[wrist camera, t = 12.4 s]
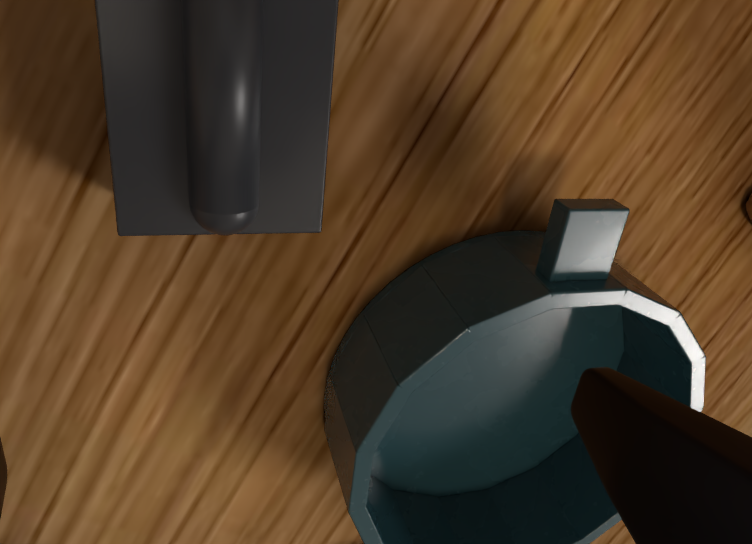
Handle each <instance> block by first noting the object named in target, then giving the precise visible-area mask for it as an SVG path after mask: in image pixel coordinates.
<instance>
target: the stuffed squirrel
mask: <svg viewBox="0 0 752 544" xmlns="http://www.w3.org/2000/svg"><path fill="white" fill-rule="evenodd" d="M746 210H747V213H748V215H749V217H750V220H751V221H752V193H751V195H750V197H749V200H748V202H747V203H746Z"/></svg>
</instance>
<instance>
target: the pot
mask: <svg viewBox="0 0 752 544" xmlns="http://www.w3.org/2000/svg"><path fill="white" fill-rule="evenodd" d="M628 214H629V209H628V208H627V207H625V206H623V205H622V204H620V203H618V202H617V201H615V200H614V199H555V200H554V203H553V207H552V211H551V214H550V218H549V222H548V226H547V230H546V232H543V231H525V230H518V231H507V232H497V233H492V234H488V235H483V236H478V237H474V238H471V239H468V240H466V241H463V242H460V243H457V244H454V245H451V246H449V247H447V248H445V249H443V250H441V251H438V252H436V253H434V254H432V255H430V256H428V257H427V258H425V259H423V260H422V261H420V262H418V263H417V264H415V265H413V266H412V267H410V268H409V269H407V270H406V271H405V272H403V273H402V274H401V275H399V276H398V277H397V278H396V279H394V280H393V281H392V282H390V283H389V284H388V285H387V286H386V287H385V288H384V289H383V290H382V291H381V292H380V293H378V294H377V295H376V296H375V297H374V298H373V299H372V300H371V301H370V302H369V304H368V305H367V306H366V307H365V308H364V310H363V311H362V312H361V313H360V314H359V316H358V317H357V318H356V319H355V321H354V322H353V324H352V325H351V327H350V329H349V330H348V332H347V333H346V335H345V336H344V338H343V340H342V342H341V344H340V346H339V348H338V350H337V352H336V354H335V356H334V359H333V362H332V365H331V368H330V371H329V374H328V378H327V384H326V389H325V395H324V414H325V434H326V437H327V441H328V444H329V447H330V451H331V454H332V458H333V461H334V465H335V468H336V471H337V475H338V478H339V482H340V485H341V488H342V492H343V495H344V499H345V502H346V505H347V509H348V512H349V514H350V516H351V518H352V520H353V522H354V524H355V526H356V528H357V530H358V532H359V534H360V536H361V539H362V541H363V543H364V544H590V543H591V542H592V541H594V540H595V539H596V538H598V537H599V536H600V535H602V534H603V533H604V532H606V531H607V530H608V529H610V528H611V527H612V526H614V525H615V524H616V523H618V522H619V521H620V520H622V519H621V517H620V515H619V514H618V512H617V510H616V508H615V507H614V505H613V503H612V501H611V499H610V498H609V496H608V494H607V492H606V490H605V488H604V486H603V484H602V481H601V479H600V477H599V475H598V473H597V471H596V468H595V466H594V464H593V462H592V460H591V458H590V456H589V453H588V451H587V449H586V447H585V445H584V443H583V440H582V438H581V436H580V434H579V432H578V430H577V427H576V425H575V423H574V421H573V418H572V415H571V403H572V400H573V397H574V395H575V392H576V389H577V386H578V383H579V380H580V377H581V375H582V373H583V372H584V371H585V370H586V369H588V368H597V367H609V368H611V369H614V370H616V371H618V372H620V373H622V374H624V375H626V376H628V377H630V378H632V379H634V380H636V381H638V382H640V383H642V384H644V385H646V386H648V387H650V388H652V389H654V390H656V391H658V392H660V393H662V394H664V395H666V396H668V397H670V398H672V399H675V400H677V401H679V402H681V403H683V404H685V405H687V406H689V407H691V408H693V409H695V410H697V411H699V412H701V411H702V409H703V407H704V388H705V366H706V356H705V354H704V352H703V350H702V348H701V347H700V345H699V343H698V341H697V340H696V338H695V336H694V335H693V333H692V331H691V329H690V328H689V326H688V324H687V322H686V321H685V319H684V317H683V316H682V314H681V312H680V311H678V310H677V309H676V308H674V307H673V306H672V305H671V304H669V303H668V302H667V301H665V300H664V299H663V298H661V297H660V296H659V295H657V294H656V293H655V292H653V291H652V290H651V289H650V288H648V287H647V286H646V285H644V284H643V283H642V282H640V281H639V280H638V279H636V278H635V277H634V276H632V275H631V274H630V273H628V272H627V271H626V270H625V269H623V268H622V267H621V266H619V265H618V264H617V263H615V262H614V261H613V260H614V257H615V254H616V251H617V248H618V245H619V242H620V238H621V235H622V232H623V229H624V226H625V223H626V220H627V217H628Z"/></svg>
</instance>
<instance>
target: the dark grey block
mask: <svg viewBox="0 0 752 544" xmlns="http://www.w3.org/2000/svg"><path fill="white" fill-rule="evenodd" d="M338 1H339V0H95V9H96V19H97V29H98V39H99V49H100V59H101V70H102V80H103V90H104V100H105V110H106V120H107V130H108V141H109V151H110V161H111V171H112V181H113V191H114V201H115V211H116V222H117V232H118V235H119V236H144V235H203V234H218V235H232V234H262V233H319V232H321V229H322V216H323V202H324V189H325V175H326V162H327V148H328V135H329V122H330V108H331V95H332V81H333V68H334V54H335V41H336V28H337V14H338Z"/></svg>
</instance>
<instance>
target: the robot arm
mask: <svg viewBox="0 0 752 544" xmlns="http://www.w3.org/2000/svg"><path fill="white" fill-rule="evenodd" d="M571 415H572V418H573V421H574V423H575V425H576V427H577V430H578V432H579V434H580V436H581V438H582V440H583V443H584V445H585V447H586V449H587V451H588V453H589V456H590V458H591V460H592V462H593V464H594V466H595V468H596V471H597V473H598V475H599V477H600V479H601V481H602V484H603V486H604V488H605V490H606V492H607V494H608V496H609V498H610V499H611V501H612V503H613V505H614V507H615V508H616V510H617V512H618V514H619V515H620V517H621V519H622V520H623V522H624V524H625V526H626V527H627V529H628V531H629V532H630V534H631V536H632V538H633V539H634V541H635V543H636V544H752V437H750V436H748V435H746V434H744V433H742V432H740V431H738V430H736V429H733V428H731V427H729V426H727V425H725V424H723V423H721V422H719V421H717V420H715V419H713V418H711V417H709V416H707V415H705V414H703V413H701V412H699V411H697V410H695V409H693V408H691V407H689V406H687V405H685V404H683V403H681V402H679V401H677V400H675V399H672V398H670V397H668V396H666V395H664V394H662V393H660V392H658V391H656V390H654V389H652V388H650V387H648V386H646V385H644V384H642V383H640V382H638V381H636V380H634V379H632V378H630V377H628V376H626V375H624V374H622V373H620V372H618V371H616V370H614V369H611V368H609V367H597V368H588V369H586V370H585V371H584V372H583V373H582V375H581V377H580V380H579V383H578V386H577V389H576V392H575V395H574V397H573V400H572V403H571ZM6 484H7V465H6V460H5V456H4V451H3V447H2V443H1V438H0V518H1V512H2V507H3V501H4V495H5V490H6Z"/></svg>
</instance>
